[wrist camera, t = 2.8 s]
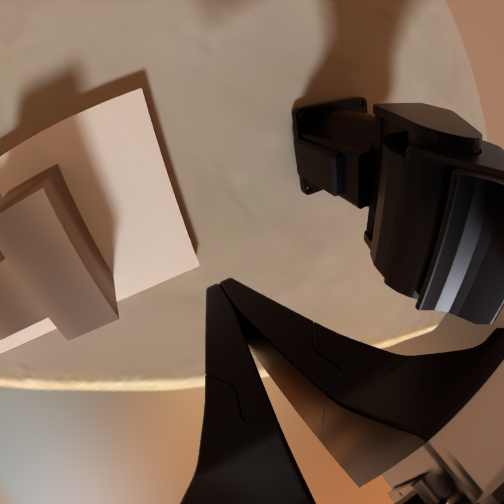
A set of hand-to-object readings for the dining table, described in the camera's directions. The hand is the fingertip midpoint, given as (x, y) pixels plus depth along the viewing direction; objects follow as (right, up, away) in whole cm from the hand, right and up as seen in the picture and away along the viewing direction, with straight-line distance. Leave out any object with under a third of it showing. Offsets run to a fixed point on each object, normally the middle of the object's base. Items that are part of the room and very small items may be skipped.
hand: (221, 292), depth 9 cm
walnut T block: (-12, +1, +5) cm, 13 cm away
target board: (-12, +2, +6) cm, 13 cm away
